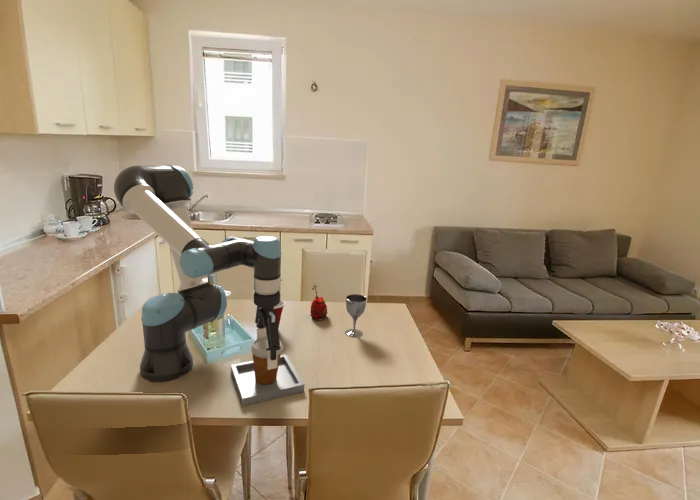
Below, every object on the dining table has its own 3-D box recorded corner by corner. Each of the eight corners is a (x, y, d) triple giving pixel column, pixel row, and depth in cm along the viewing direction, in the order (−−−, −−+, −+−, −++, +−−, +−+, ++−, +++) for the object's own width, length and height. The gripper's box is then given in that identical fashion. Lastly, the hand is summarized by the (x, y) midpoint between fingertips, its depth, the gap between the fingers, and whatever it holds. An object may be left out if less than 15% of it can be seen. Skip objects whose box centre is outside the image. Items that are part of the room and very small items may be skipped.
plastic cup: (287, 325, 155) (288, 298, 152) (280, 338, 144) (280, 309, 141) (261, 323, 156) (261, 295, 152) (252, 335, 145) (252, 306, 142)
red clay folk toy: (320, 322, 159) (322, 288, 155) (306, 318, 162) (307, 285, 158) (329, 316, 166) (331, 283, 162) (315, 312, 169) (317, 280, 165)
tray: (242, 406, 106) (242, 398, 106) (231, 371, 122) (230, 364, 121) (304, 391, 114) (304, 384, 114) (285, 360, 130) (286, 354, 129)
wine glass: (341, 335, 149) (343, 300, 145) (346, 327, 157) (349, 292, 153) (361, 339, 148) (364, 303, 144) (365, 330, 155) (368, 295, 151)
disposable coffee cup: (248, 372, 120) (248, 337, 117) (278, 368, 124) (280, 334, 121) (251, 390, 112) (252, 353, 109) (284, 385, 115) (286, 350, 112)
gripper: (292, 304, 102) (291, 376, 107) (268, 275, 122) (268, 337, 128) (264, 308, 98) (264, 382, 104) (245, 277, 119) (245, 340, 125)
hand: (266, 357), depth 116 cm, fingers open, 12 cm apart
